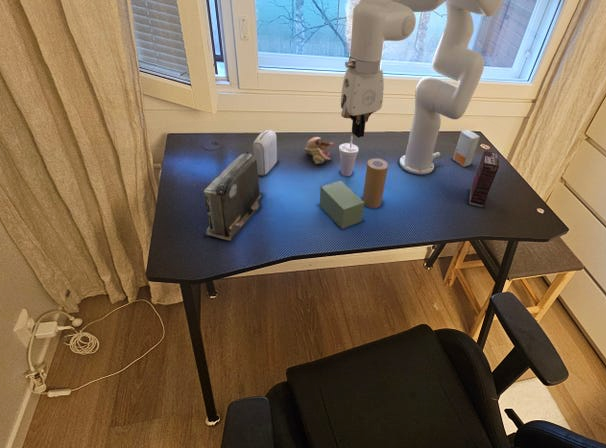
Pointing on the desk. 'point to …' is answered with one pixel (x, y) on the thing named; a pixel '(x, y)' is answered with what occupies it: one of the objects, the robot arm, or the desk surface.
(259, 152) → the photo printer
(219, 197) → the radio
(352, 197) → the green block
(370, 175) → the paper roll
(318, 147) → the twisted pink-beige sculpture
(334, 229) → the desk surface
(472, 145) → the cosmetic box
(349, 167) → the smoothie
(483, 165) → the supplement box
